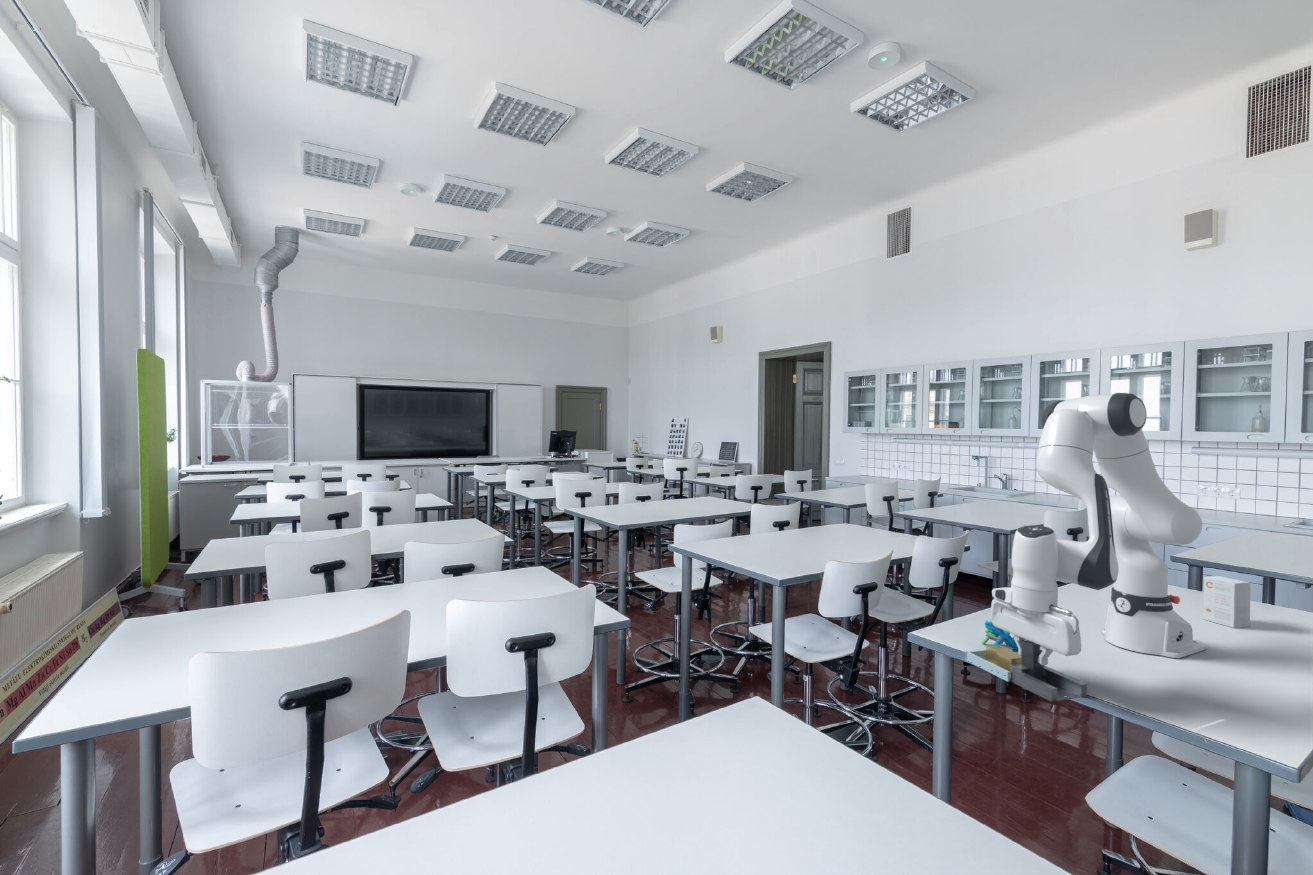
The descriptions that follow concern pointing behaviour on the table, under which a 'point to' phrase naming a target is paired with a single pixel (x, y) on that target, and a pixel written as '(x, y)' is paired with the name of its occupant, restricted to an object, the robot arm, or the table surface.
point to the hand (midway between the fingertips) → (1032, 660)
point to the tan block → (994, 652)
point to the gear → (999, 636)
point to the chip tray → (986, 664)
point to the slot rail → (1050, 685)
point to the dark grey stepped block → (1030, 660)
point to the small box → (1226, 601)
